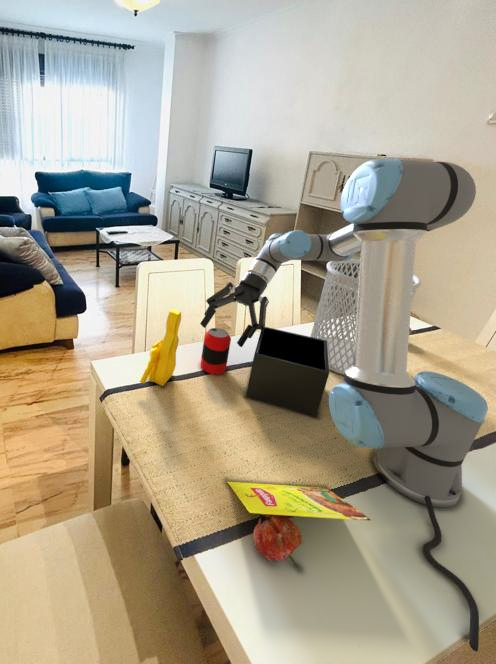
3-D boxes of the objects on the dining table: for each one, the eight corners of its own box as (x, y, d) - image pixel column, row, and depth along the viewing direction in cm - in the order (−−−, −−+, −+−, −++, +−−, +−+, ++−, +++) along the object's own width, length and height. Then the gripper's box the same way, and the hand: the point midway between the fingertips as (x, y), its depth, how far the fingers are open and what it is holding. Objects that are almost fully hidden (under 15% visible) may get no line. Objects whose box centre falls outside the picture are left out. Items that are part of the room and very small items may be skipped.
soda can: (213, 358, 121) (219, 324, 116) (231, 370, 115) (237, 335, 110) (195, 364, 117) (199, 329, 112) (211, 377, 111) (217, 341, 106)
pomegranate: (294, 551, 67) (259, 497, 70) (325, 552, 62) (286, 493, 65) (270, 583, 63) (234, 524, 66) (301, 587, 58) (260, 522, 60)
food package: (372, 517, 63) (249, 509, 63) (372, 524, 62) (249, 516, 62) (325, 485, 78) (226, 478, 78) (325, 491, 77) (226, 484, 78)
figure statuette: (162, 360, 118) (168, 294, 109) (186, 369, 114) (194, 301, 106) (133, 390, 103) (137, 317, 95) (159, 401, 100) (166, 326, 92)
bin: (316, 417, 97) (329, 373, 92) (245, 397, 103) (254, 354, 98) (315, 380, 112) (327, 340, 107) (254, 364, 119) (262, 326, 113)
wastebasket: (408, 375, 118) (443, 284, 106) (341, 383, 112) (371, 288, 100) (349, 336, 140) (373, 257, 128) (290, 341, 134) (310, 259, 122)
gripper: (297, 298, 113) (259, 358, 110) (227, 272, 130) (193, 323, 126) (292, 286, 107) (252, 349, 104) (220, 260, 124) (184, 313, 121)
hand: (220, 335), depth 115 cm, fingers open, 13 cm apart
